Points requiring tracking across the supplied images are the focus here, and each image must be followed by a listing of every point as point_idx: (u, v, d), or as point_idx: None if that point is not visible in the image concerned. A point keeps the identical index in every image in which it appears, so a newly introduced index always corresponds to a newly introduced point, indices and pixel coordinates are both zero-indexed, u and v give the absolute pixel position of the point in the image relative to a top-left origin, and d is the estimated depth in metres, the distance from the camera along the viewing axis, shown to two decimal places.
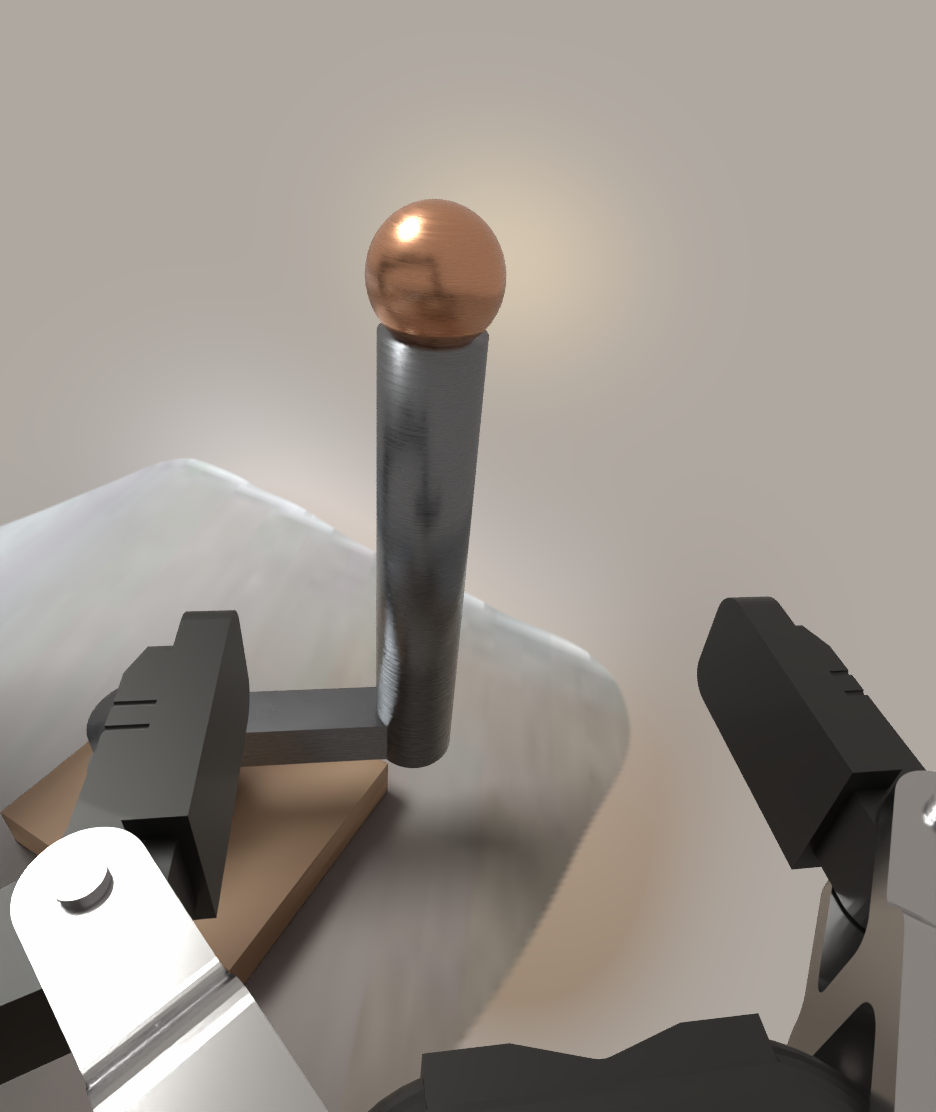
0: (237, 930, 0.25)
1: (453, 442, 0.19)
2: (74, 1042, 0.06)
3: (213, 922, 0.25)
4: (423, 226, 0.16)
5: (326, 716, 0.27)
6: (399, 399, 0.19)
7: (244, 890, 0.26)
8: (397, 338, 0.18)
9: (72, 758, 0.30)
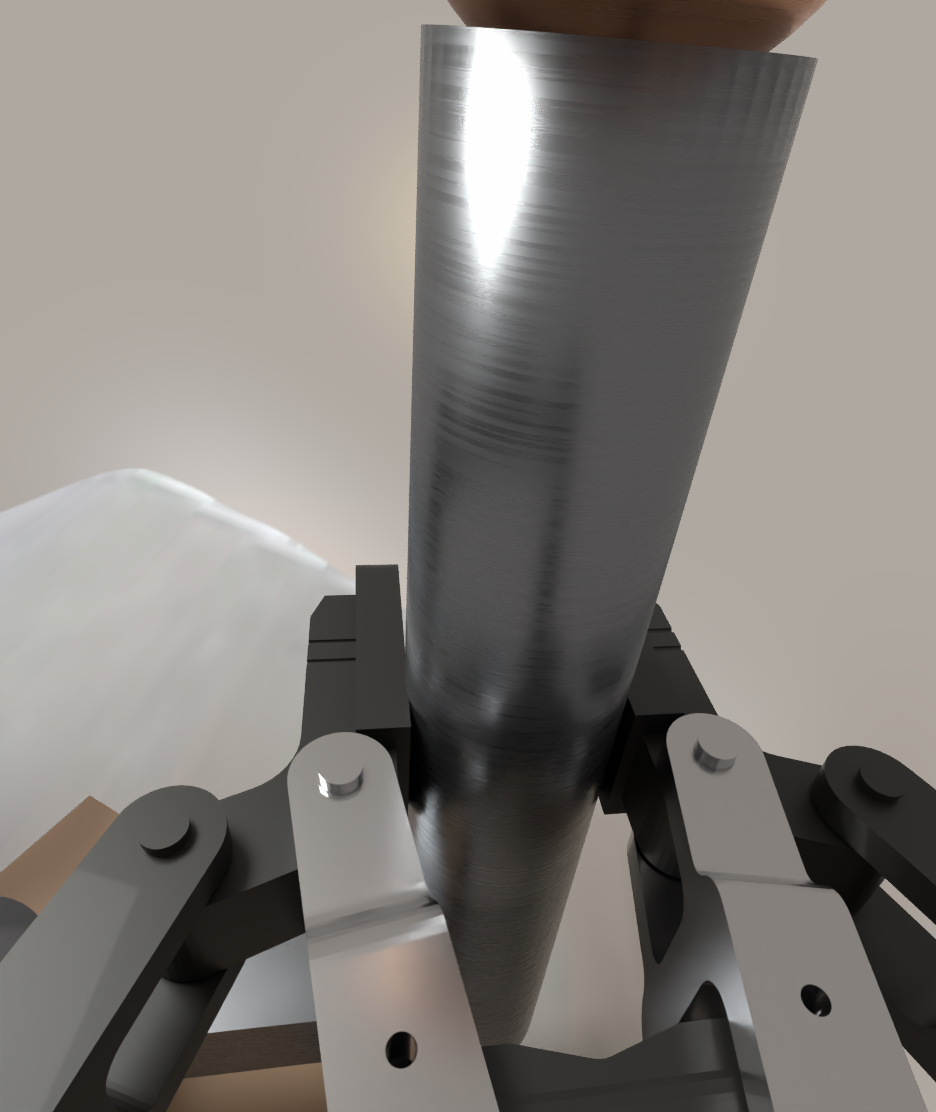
0: None
1: (667, 424, 0.06)
2: (306, 896, 0.07)
3: None
4: None
5: (298, 989, 0.13)
6: (502, 269, 0.05)
7: None
8: (504, 25, 0.05)
9: None
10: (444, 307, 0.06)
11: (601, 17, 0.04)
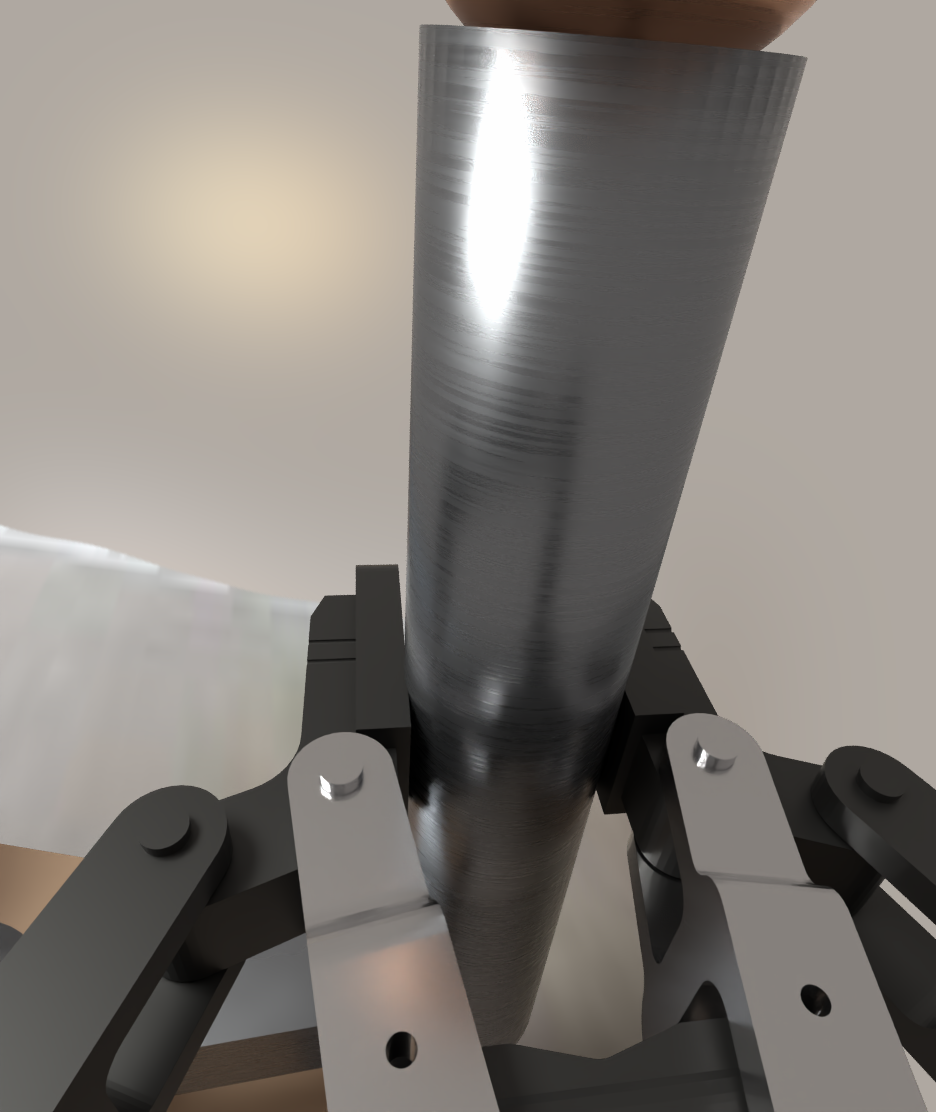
0: None
1: (669, 414, 0.06)
2: (306, 896, 0.07)
3: None
4: None
5: (300, 995, 0.13)
6: (508, 266, 0.05)
7: None
8: (507, 26, 0.05)
9: None
10: (449, 304, 0.06)
11: (606, 18, 0.04)
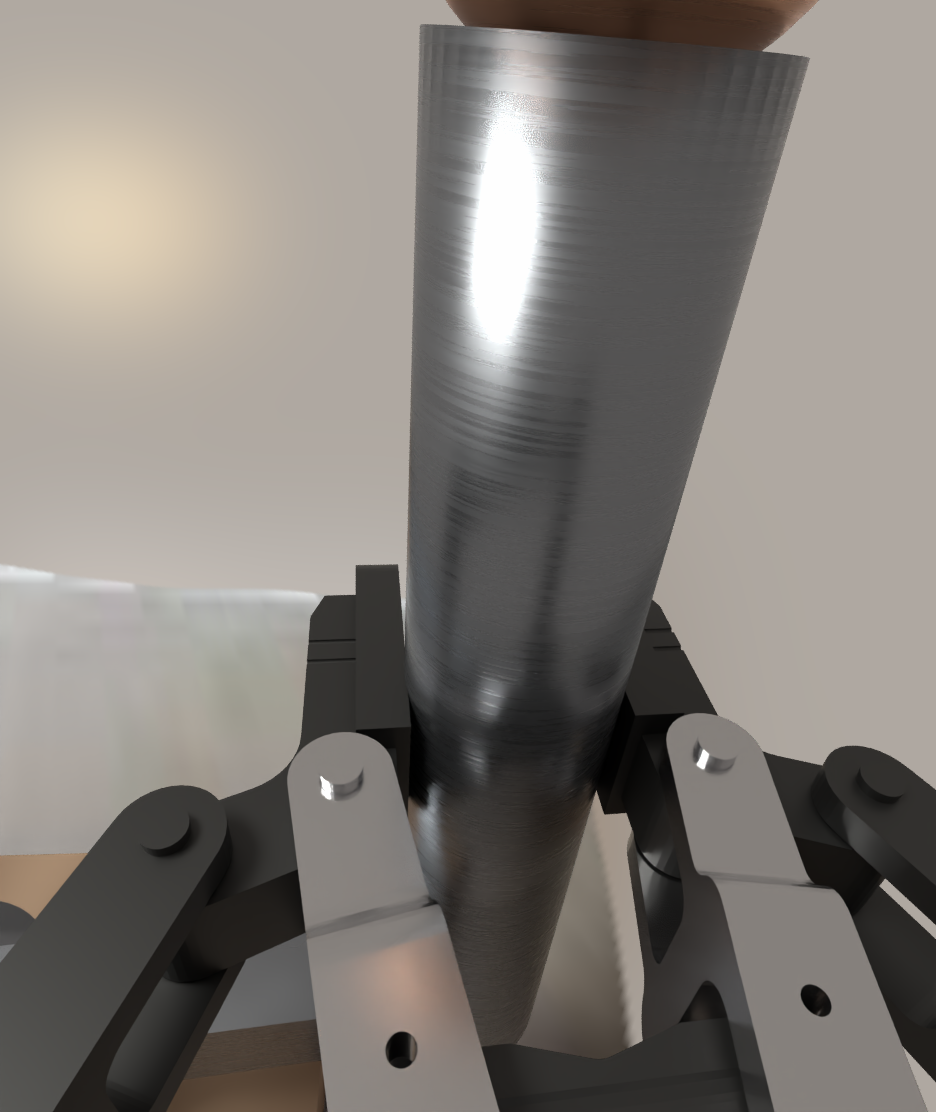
0: None
1: (665, 417, 0.06)
2: (306, 896, 0.07)
3: None
4: None
5: (298, 987, 0.13)
6: (503, 265, 0.05)
7: None
8: (503, 25, 0.05)
9: None
10: (445, 303, 0.06)
11: (600, 17, 0.04)
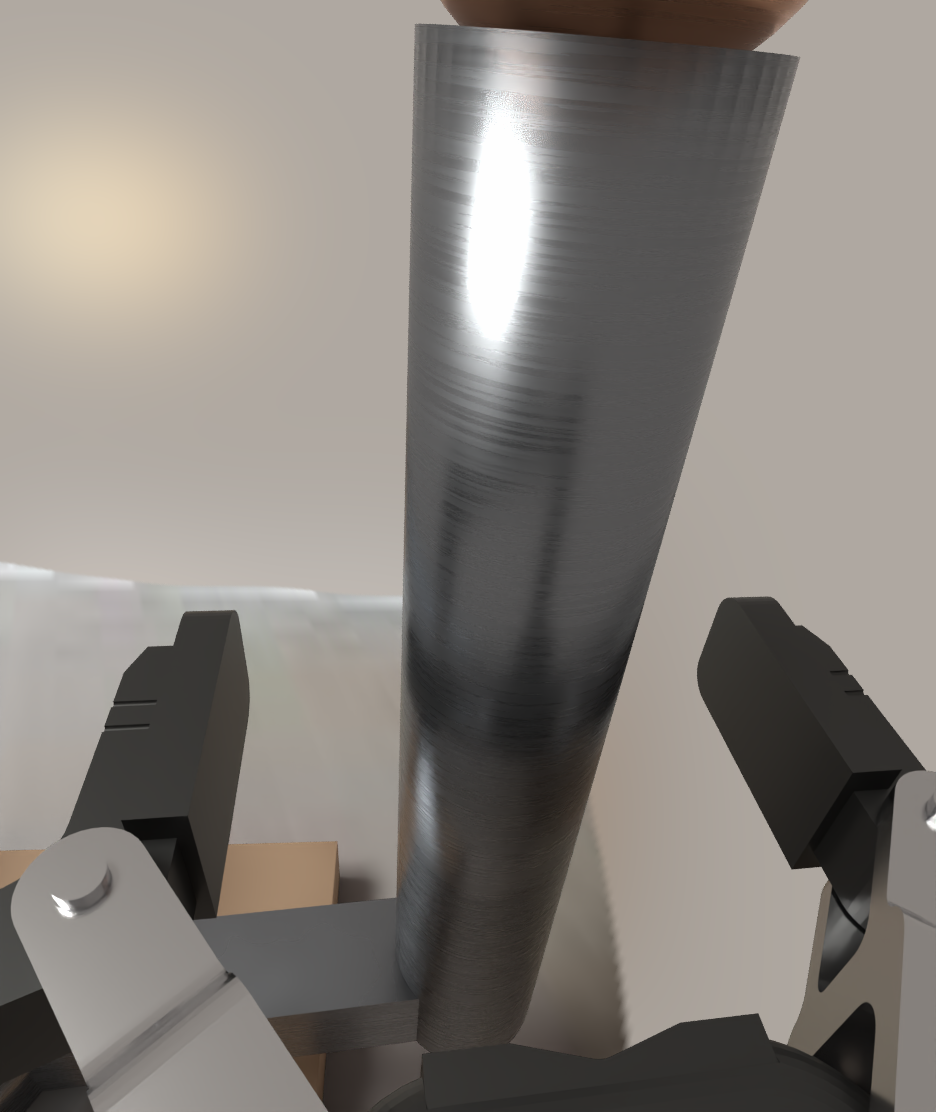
0: None
1: (657, 413, 0.06)
2: (75, 1042, 0.06)
3: None
4: None
5: (297, 981, 0.13)
6: (496, 263, 0.05)
7: None
8: (496, 25, 0.05)
9: None
10: (439, 300, 0.06)
11: (590, 17, 0.05)
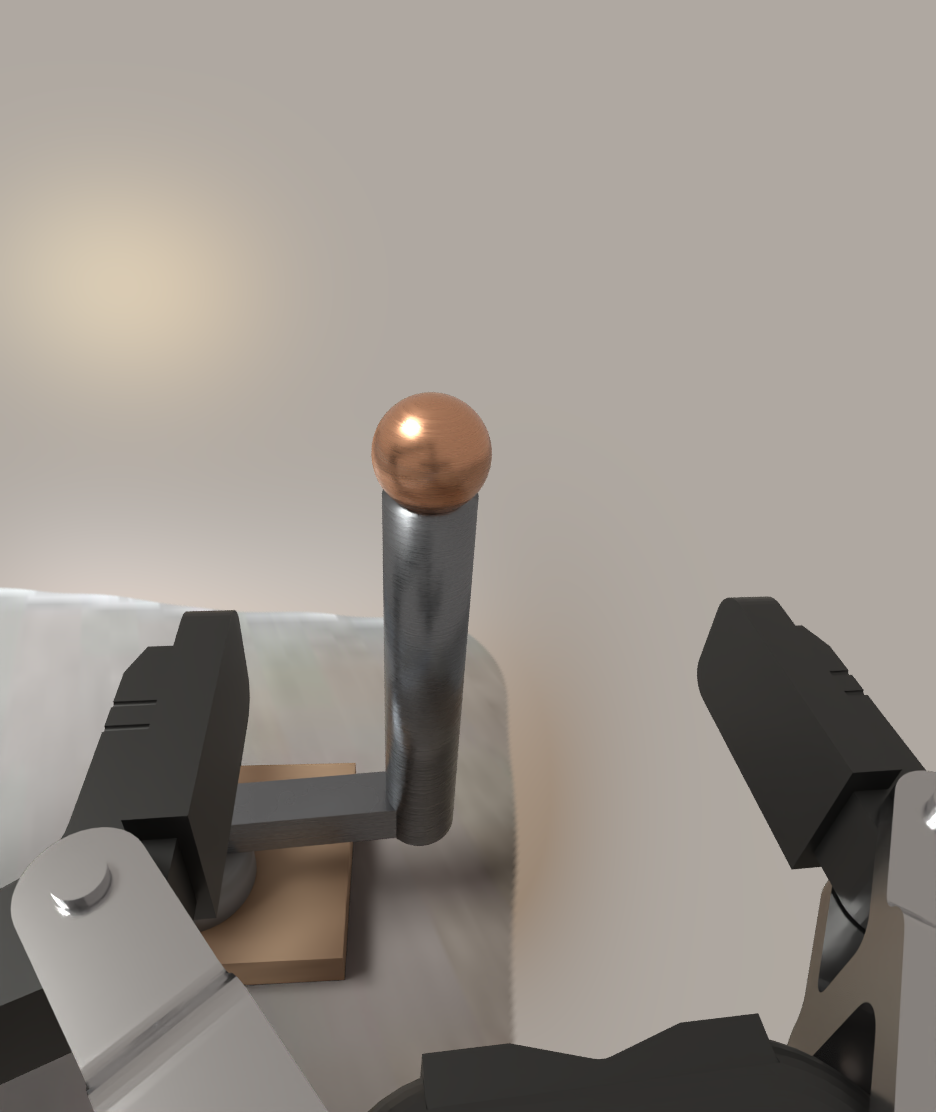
0: (328, 930, 0.30)
1: (450, 585, 0.22)
2: (74, 1044, 0.06)
3: (306, 937, 0.30)
4: (421, 425, 0.19)
5: (341, 803, 0.30)
6: (402, 554, 0.22)
7: (312, 903, 0.31)
8: (400, 505, 0.21)
9: None
10: (390, 557, 0.22)
11: (419, 511, 0.21)
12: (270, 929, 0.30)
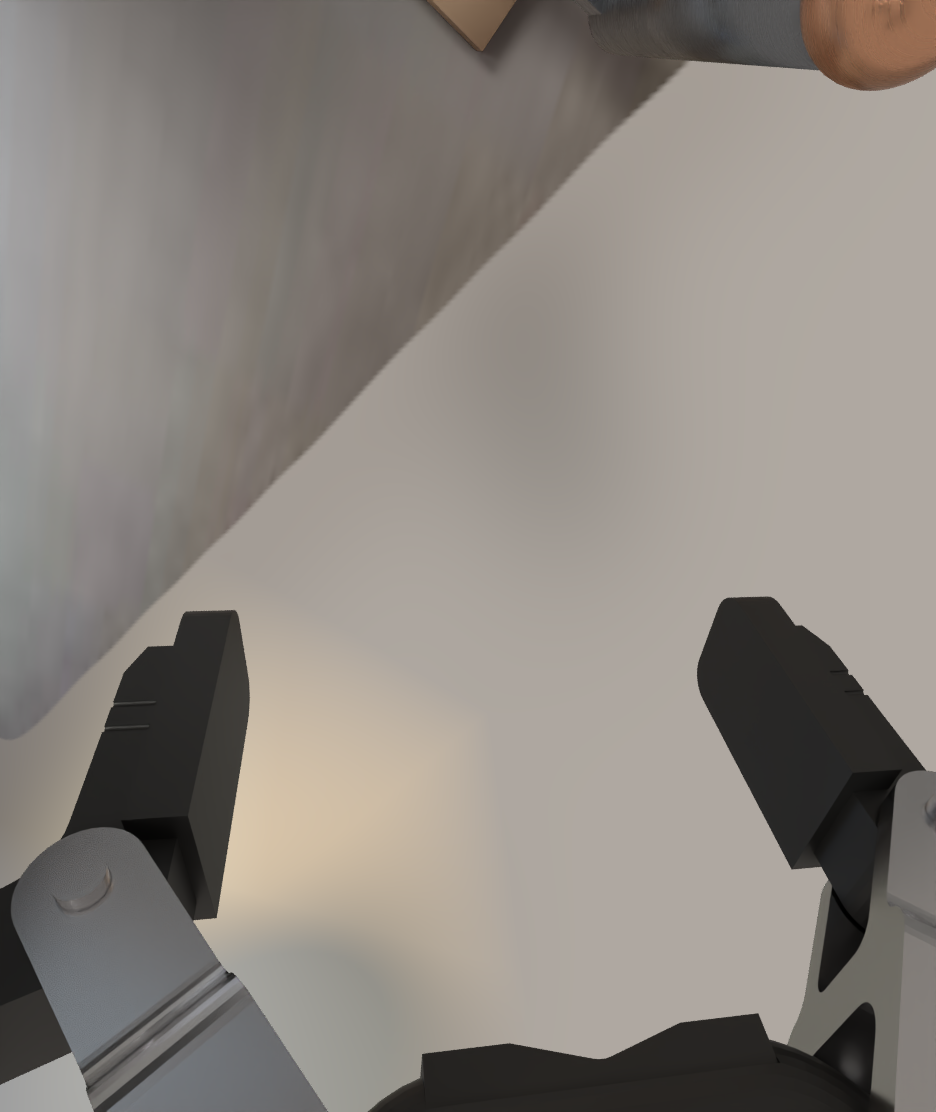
0: (487, 14, 0.31)
1: (771, 65, 0.18)
2: (76, 1041, 0.06)
3: (467, 2, 0.30)
4: (885, 18, 0.13)
5: None
6: (760, 13, 0.17)
7: None
8: None
9: None
10: None
11: None
12: None
